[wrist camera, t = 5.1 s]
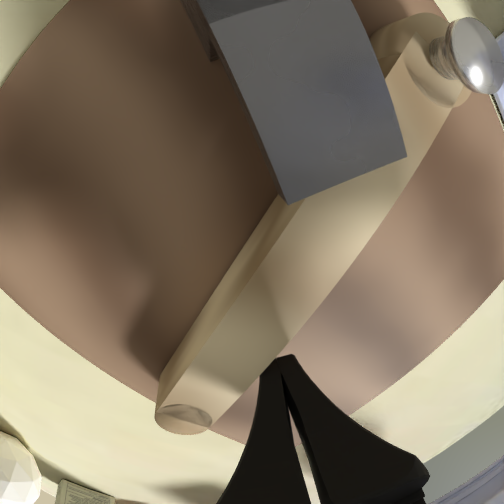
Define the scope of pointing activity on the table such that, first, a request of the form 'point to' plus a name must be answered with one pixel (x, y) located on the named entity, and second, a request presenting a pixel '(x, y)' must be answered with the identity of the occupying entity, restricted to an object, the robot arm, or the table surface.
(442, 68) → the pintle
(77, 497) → the skincare box
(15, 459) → the geometric ball
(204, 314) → the link
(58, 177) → the board
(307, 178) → the keeper
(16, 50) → the table surface
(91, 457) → the table surface
